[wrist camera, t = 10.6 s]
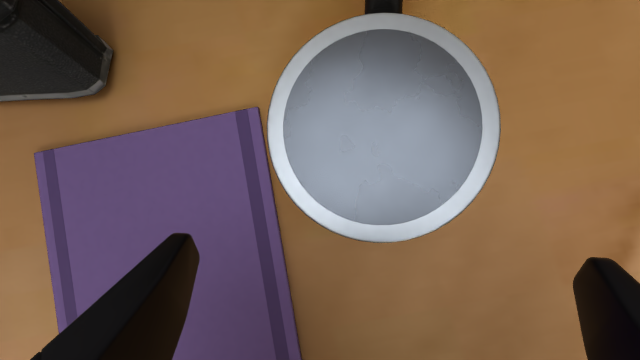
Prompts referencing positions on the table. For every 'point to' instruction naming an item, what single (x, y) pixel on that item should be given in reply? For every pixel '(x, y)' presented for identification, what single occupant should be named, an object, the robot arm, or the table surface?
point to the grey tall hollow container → (383, 126)
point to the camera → (48, 53)
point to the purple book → (175, 229)
